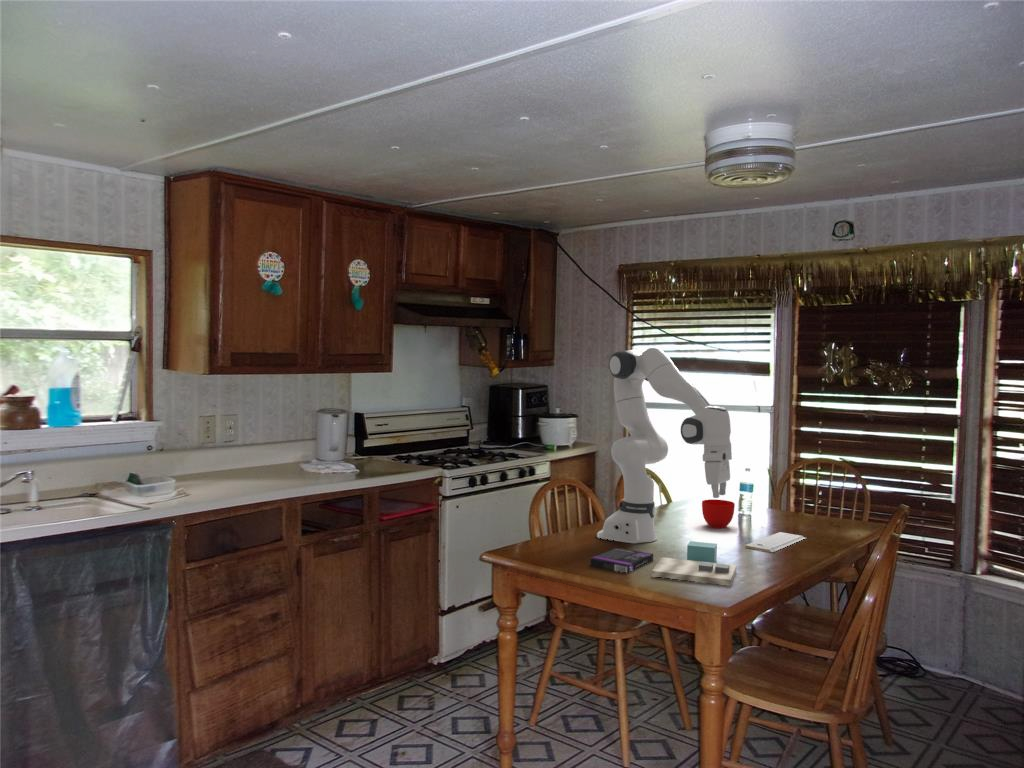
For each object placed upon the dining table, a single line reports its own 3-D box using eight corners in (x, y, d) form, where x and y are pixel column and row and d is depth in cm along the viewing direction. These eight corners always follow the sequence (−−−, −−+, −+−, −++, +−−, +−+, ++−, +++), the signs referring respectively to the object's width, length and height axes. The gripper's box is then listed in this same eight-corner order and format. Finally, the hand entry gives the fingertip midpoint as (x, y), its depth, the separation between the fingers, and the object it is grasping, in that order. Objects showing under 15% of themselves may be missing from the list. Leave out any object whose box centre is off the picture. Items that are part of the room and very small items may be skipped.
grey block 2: (714, 571, 249) (715, 566, 249) (716, 568, 253) (716, 563, 253) (728, 573, 248) (728, 568, 248) (729, 570, 251) (729, 565, 251)
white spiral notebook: (810, 540, 305) (779, 535, 313) (810, 533, 305) (780, 528, 313) (776, 555, 282) (744, 549, 290) (777, 547, 282) (745, 541, 290)
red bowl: (729, 521, 335) (730, 498, 334) (736, 530, 318) (737, 506, 317) (698, 520, 336) (698, 497, 336) (703, 529, 319) (704, 504, 319)
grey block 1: (698, 570, 251) (698, 565, 251) (700, 567, 255) (700, 562, 255) (711, 571, 249) (711, 566, 249) (713, 568, 253) (713, 563, 253)
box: (627, 576, 253) (654, 562, 269) (628, 565, 253) (654, 552, 269) (589, 568, 261) (617, 555, 277) (589, 557, 261) (617, 545, 277)
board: (651, 577, 249) (651, 570, 249) (662, 563, 266) (662, 557, 266) (730, 586, 241) (730, 579, 241) (736, 571, 257) (736, 565, 257)
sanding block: (686, 562, 268) (687, 545, 268) (689, 558, 274) (690, 541, 274) (714, 565, 265) (714, 548, 264) (716, 561, 271) (716, 543, 270)
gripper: (715, 453, 275) (716, 493, 274) (701, 456, 257) (702, 499, 256) (733, 453, 272) (735, 493, 271) (720, 456, 254) (722, 499, 253)
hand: (719, 496), depth 264 cm, fingers open, 8 cm apart
